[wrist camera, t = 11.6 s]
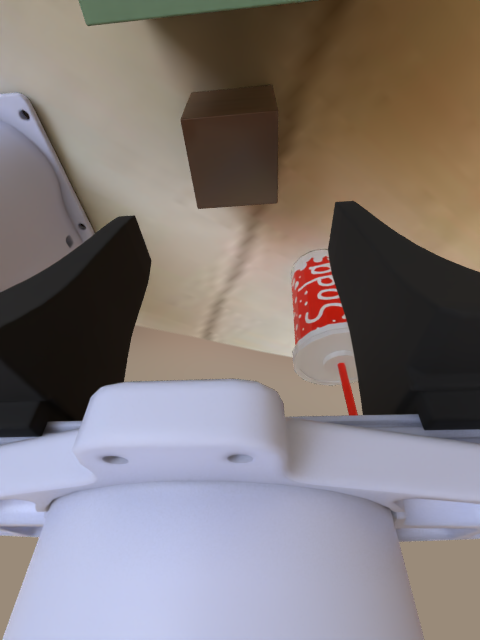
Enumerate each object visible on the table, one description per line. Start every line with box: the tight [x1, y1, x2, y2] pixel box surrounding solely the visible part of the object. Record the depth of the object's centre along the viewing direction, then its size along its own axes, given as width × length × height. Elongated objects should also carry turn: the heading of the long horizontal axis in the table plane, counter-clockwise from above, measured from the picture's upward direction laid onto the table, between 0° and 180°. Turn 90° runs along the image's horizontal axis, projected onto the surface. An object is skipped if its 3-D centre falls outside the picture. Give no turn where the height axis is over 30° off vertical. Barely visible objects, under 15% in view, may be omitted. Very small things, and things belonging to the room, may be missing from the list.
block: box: [181, 85, 278, 209], centre depth 17 cm, size 4×4×4 cm
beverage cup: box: [291, 249, 358, 416], centre depth 22 cm, size 6×6×14 cm
